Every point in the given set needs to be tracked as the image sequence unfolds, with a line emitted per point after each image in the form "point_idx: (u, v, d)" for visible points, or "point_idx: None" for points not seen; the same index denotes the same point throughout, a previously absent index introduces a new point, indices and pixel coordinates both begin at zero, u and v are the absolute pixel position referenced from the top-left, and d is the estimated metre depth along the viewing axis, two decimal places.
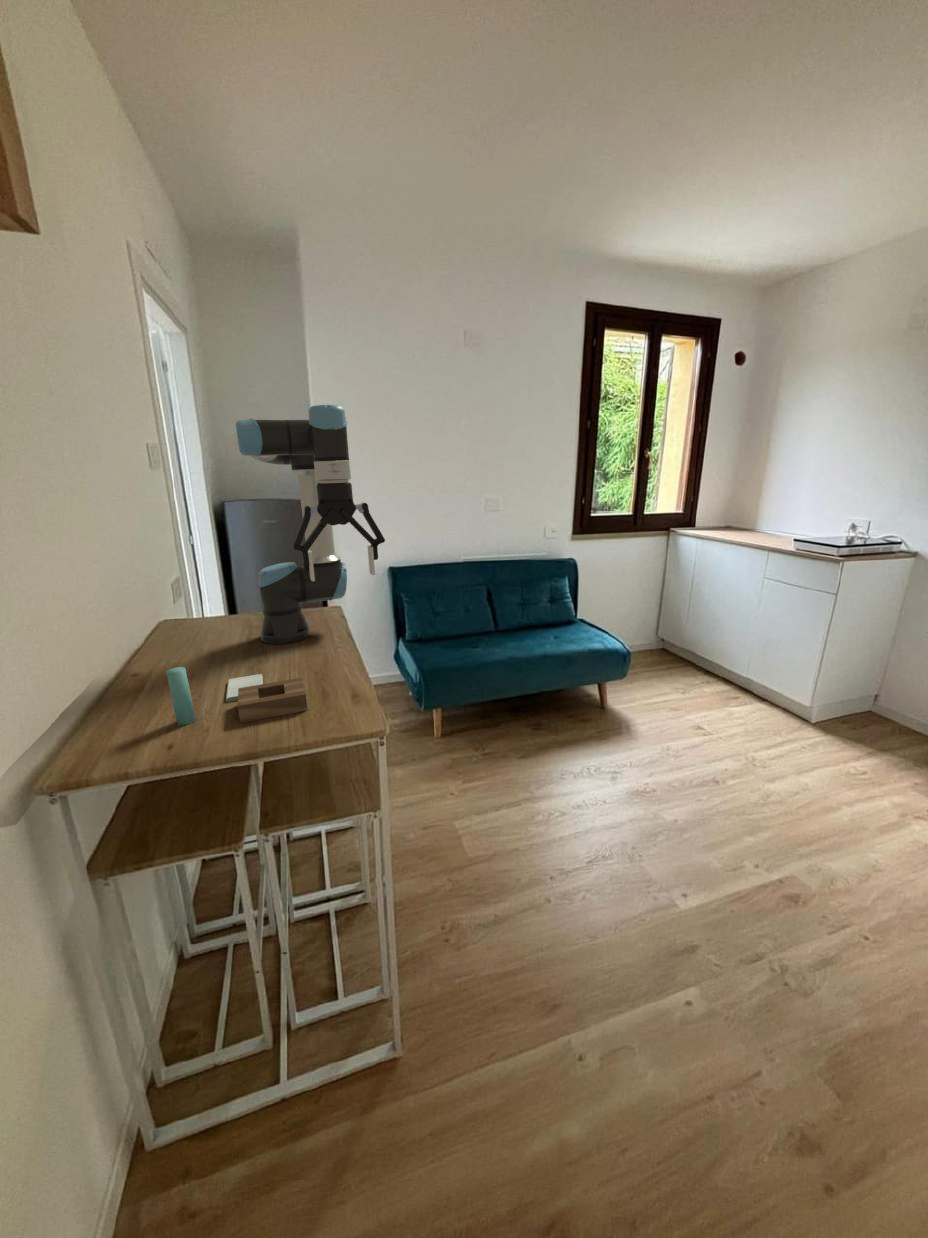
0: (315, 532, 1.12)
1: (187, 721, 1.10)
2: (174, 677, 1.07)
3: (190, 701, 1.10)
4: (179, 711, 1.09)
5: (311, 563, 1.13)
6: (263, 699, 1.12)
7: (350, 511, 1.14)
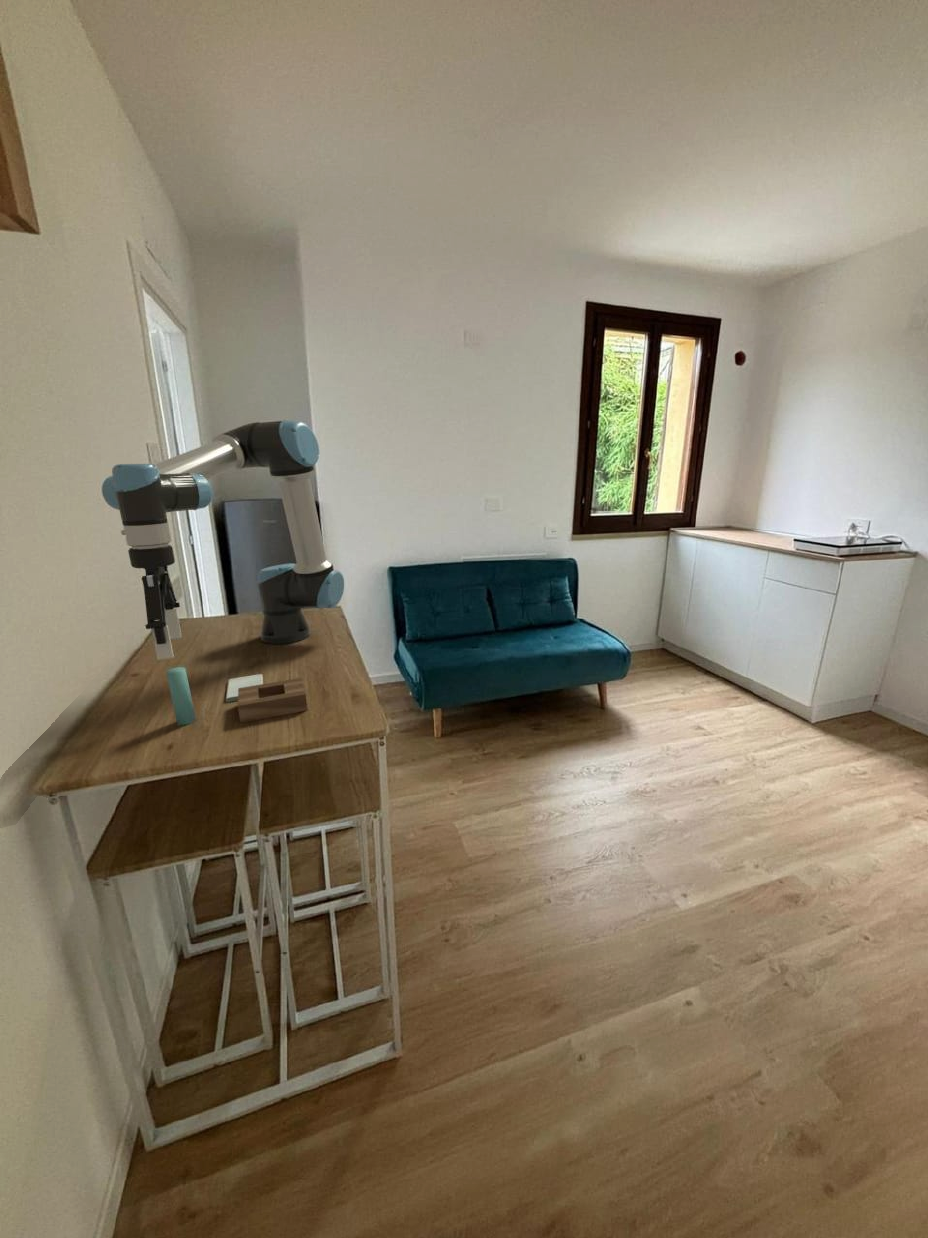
0: None
1: (187, 721, 1.10)
2: (174, 678, 1.07)
3: (190, 701, 1.10)
4: (179, 711, 1.09)
5: None
6: (263, 699, 1.12)
7: None
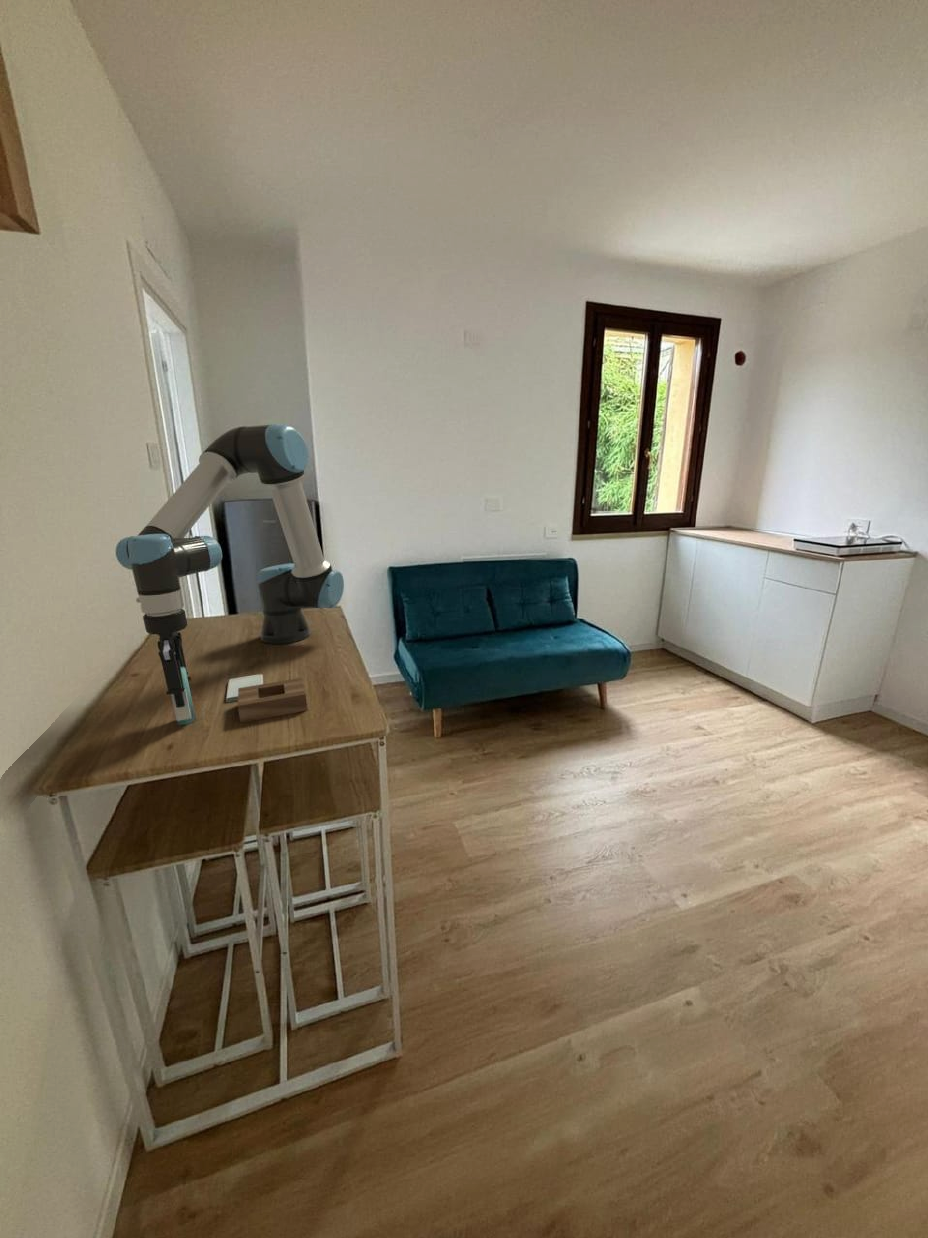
0: None
1: (187, 721, 1.10)
2: None
3: (190, 701, 1.10)
4: None
5: None
6: (263, 699, 1.12)
7: None
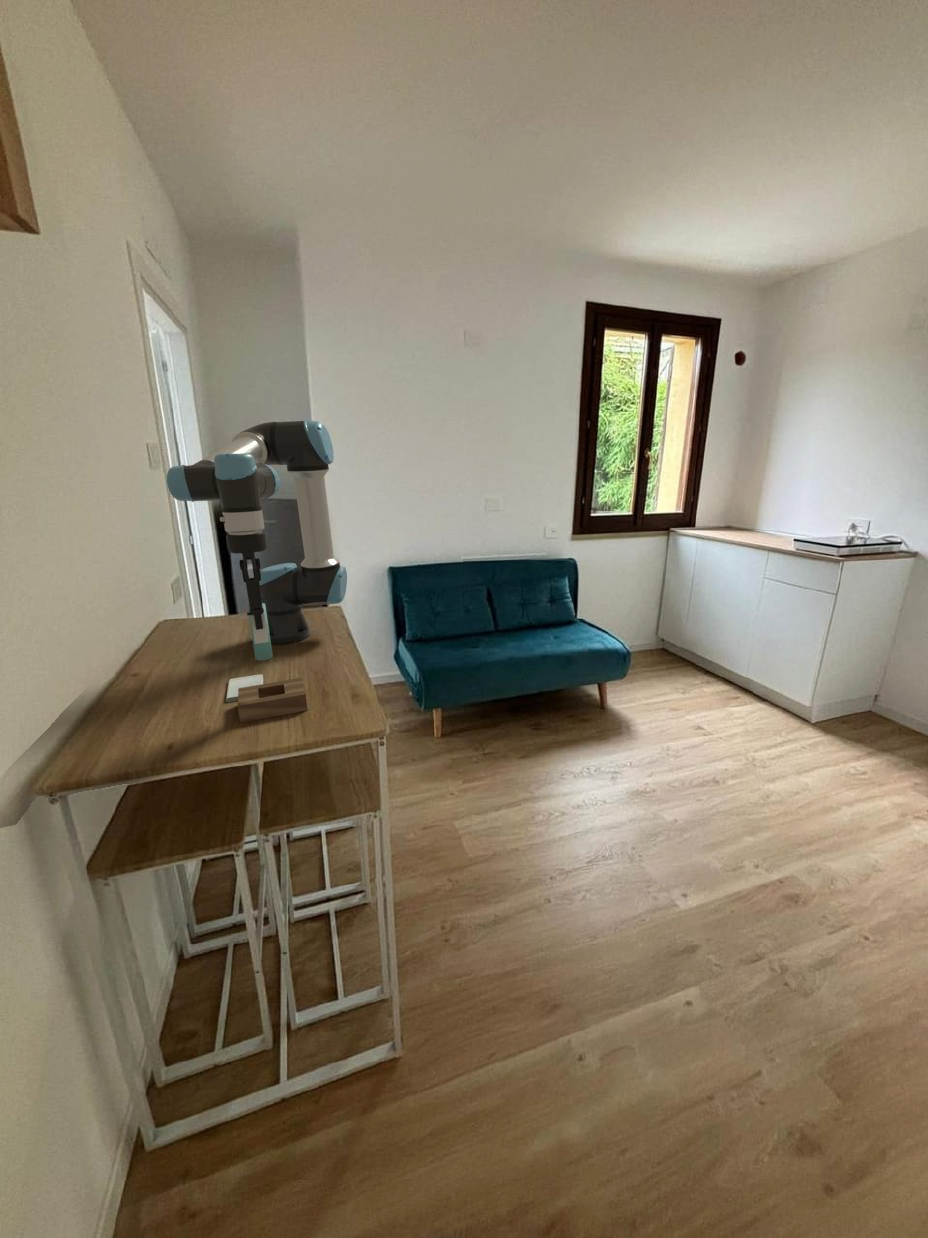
0: None
1: (266, 656, 1.12)
2: None
3: (269, 637, 1.12)
4: (259, 646, 1.11)
5: None
6: (263, 699, 1.12)
7: (244, 564, 1.04)
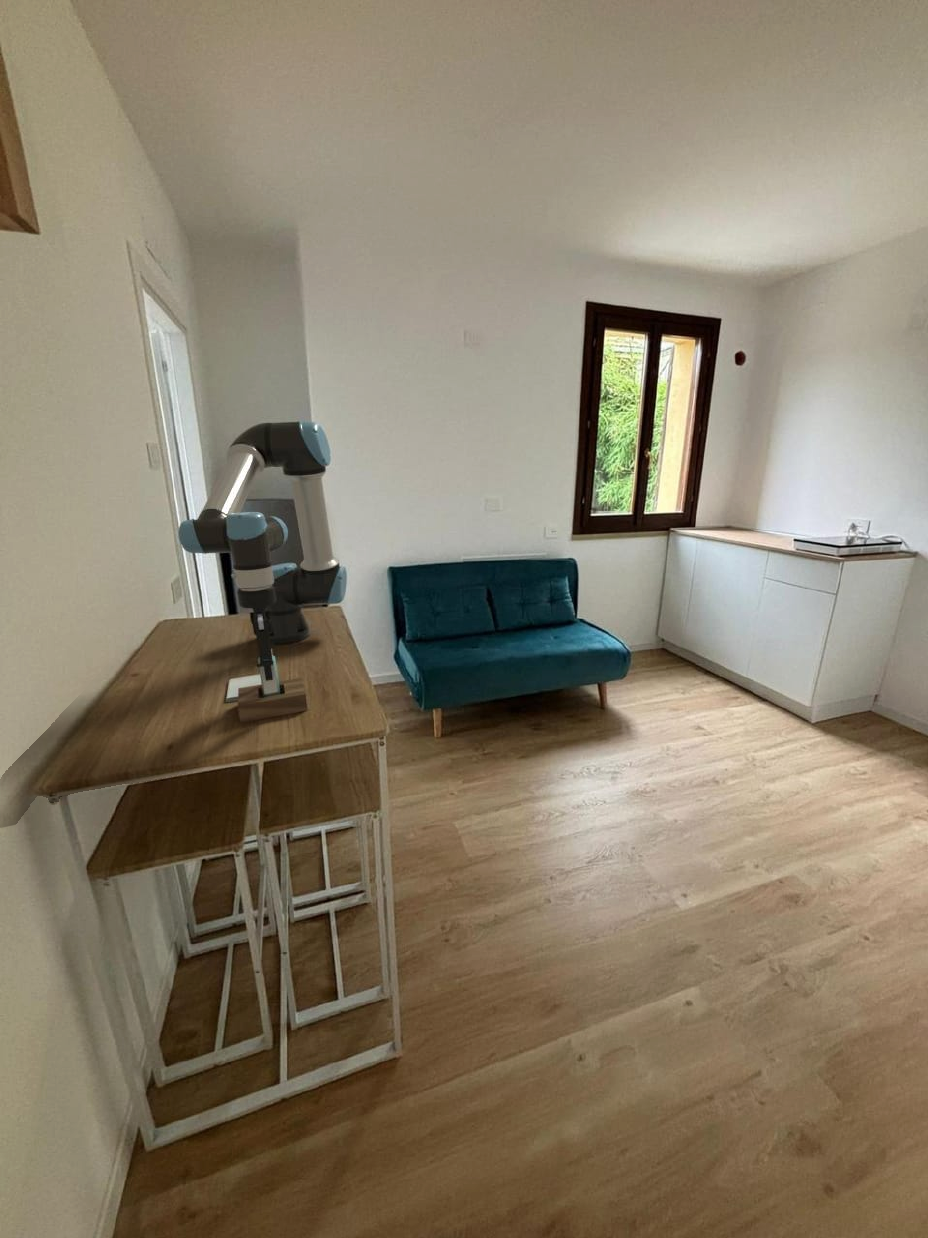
0: None
1: None
2: None
3: (278, 688, 1.16)
4: None
5: None
6: (263, 699, 1.12)
7: (254, 619, 1.08)
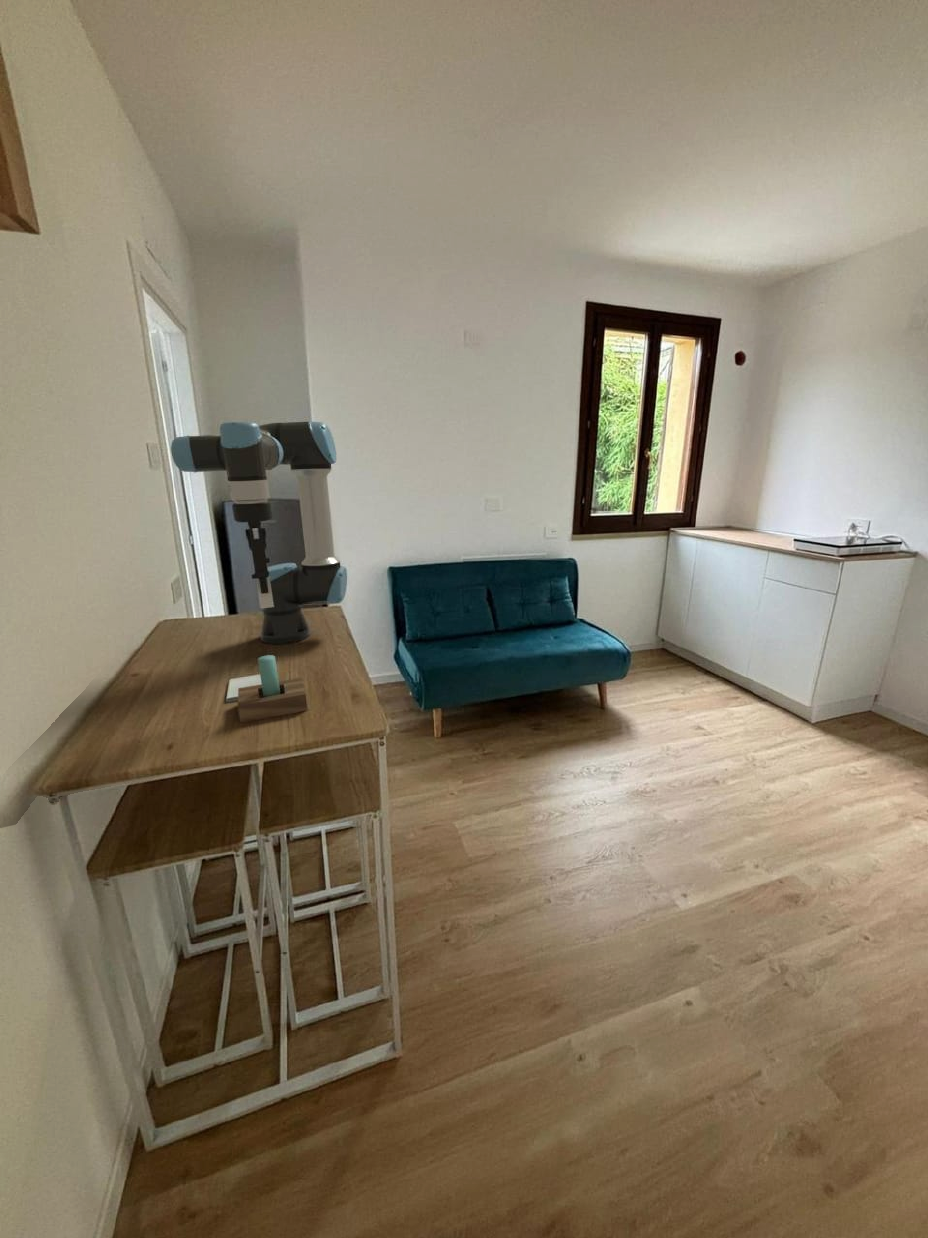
0: None
1: None
2: (266, 665, 1.12)
3: (278, 688, 1.16)
4: None
5: None
6: (263, 699, 1.12)
7: (250, 534, 1.06)
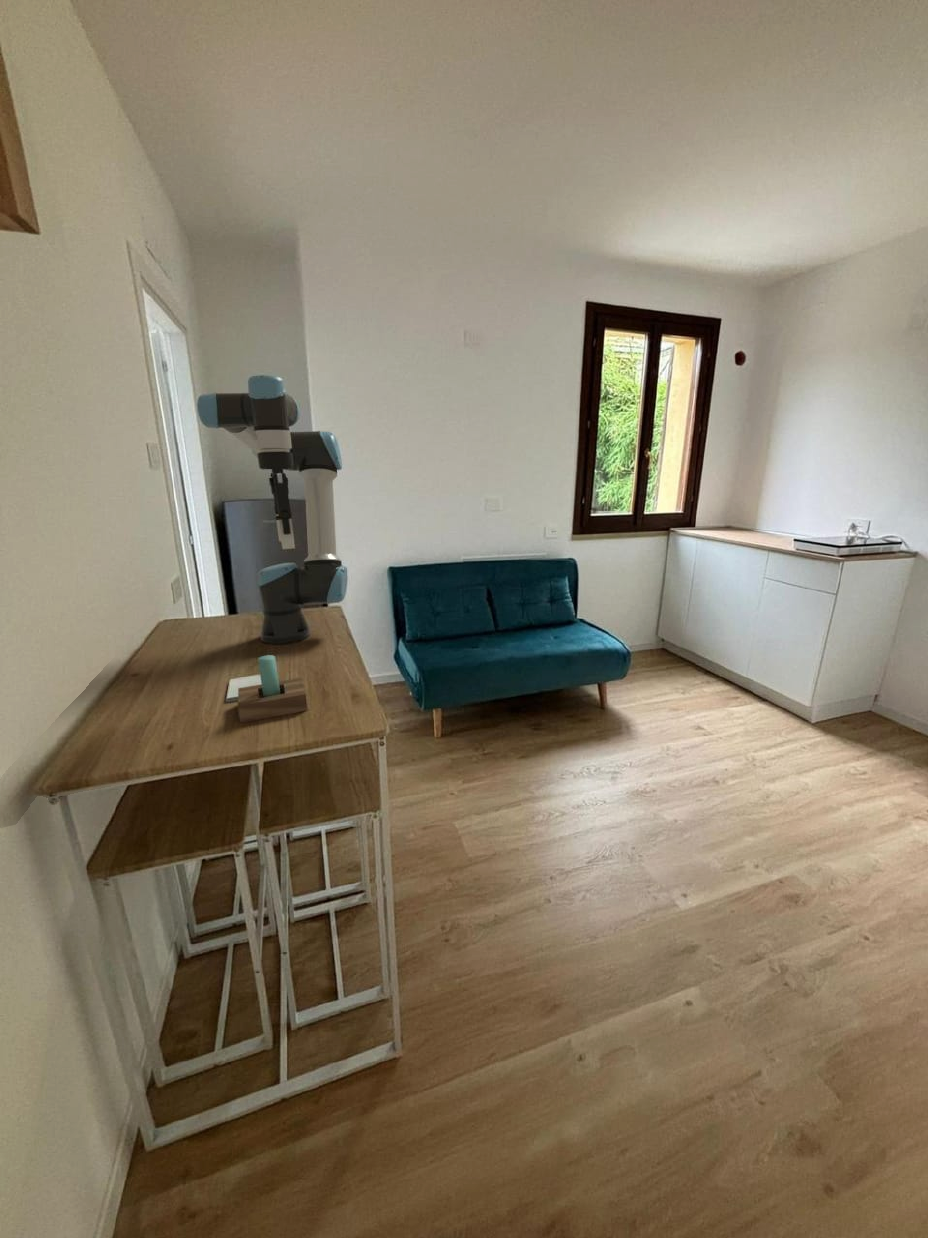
0: (274, 497, 1.23)
1: None
2: (266, 665, 1.12)
3: (278, 688, 1.16)
4: None
5: (277, 525, 1.26)
6: (263, 699, 1.12)
7: (274, 481, 1.15)
